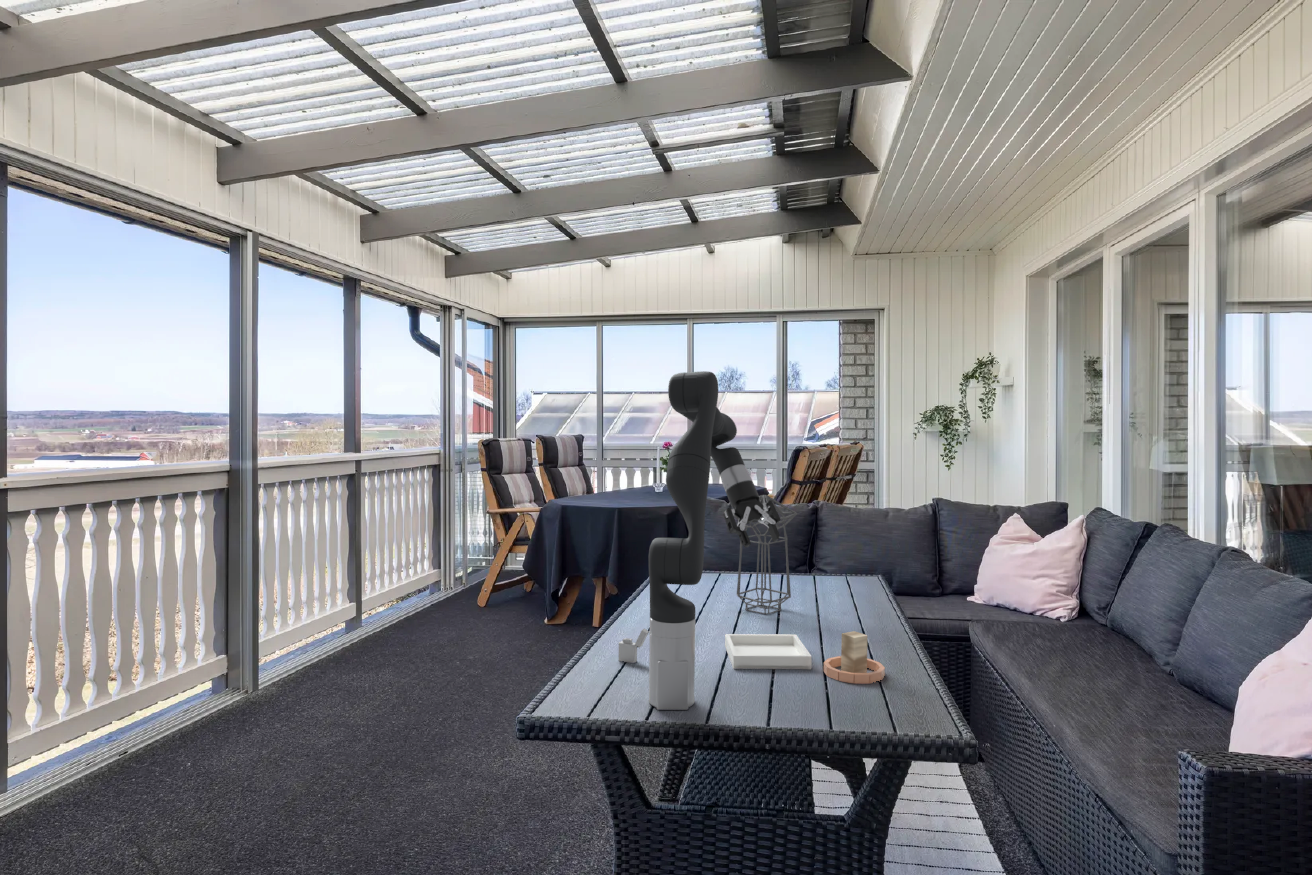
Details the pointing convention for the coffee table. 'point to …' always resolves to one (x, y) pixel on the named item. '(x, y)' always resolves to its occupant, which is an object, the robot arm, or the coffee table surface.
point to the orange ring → (854, 677)
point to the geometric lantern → (762, 499)
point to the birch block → (854, 652)
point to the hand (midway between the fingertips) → (762, 543)
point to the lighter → (631, 647)
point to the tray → (767, 651)
